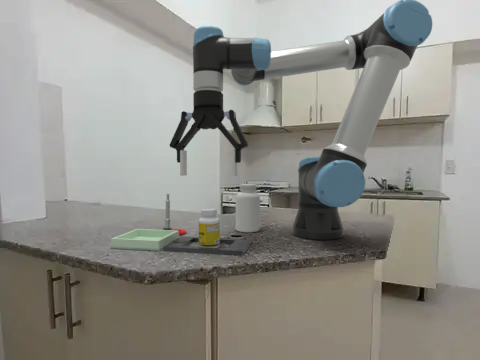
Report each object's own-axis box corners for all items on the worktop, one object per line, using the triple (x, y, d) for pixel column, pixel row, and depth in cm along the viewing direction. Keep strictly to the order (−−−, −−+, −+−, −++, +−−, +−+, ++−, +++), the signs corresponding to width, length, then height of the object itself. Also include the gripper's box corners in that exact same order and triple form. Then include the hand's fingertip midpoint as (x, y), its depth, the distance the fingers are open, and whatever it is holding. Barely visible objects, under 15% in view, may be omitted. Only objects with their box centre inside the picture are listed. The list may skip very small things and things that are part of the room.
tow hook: (164, 231, 104) (152, 236, 95) (165, 192, 104) (153, 193, 95) (189, 232, 103) (179, 238, 94) (190, 192, 103) (180, 193, 94)
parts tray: (179, 239, 91) (179, 230, 91) (158, 251, 79) (158, 241, 79) (137, 237, 94) (137, 228, 94) (111, 248, 81) (110, 238, 81)
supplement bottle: (197, 245, 85) (196, 208, 84) (217, 243, 86) (217, 207, 86) (200, 250, 79) (200, 211, 79) (222, 248, 81) (221, 210, 81)
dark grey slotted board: (251, 243, 87) (251, 239, 87) (242, 255, 75) (242, 250, 75) (181, 239, 91) (181, 236, 91) (163, 250, 79) (163, 246, 79)
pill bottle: (258, 233, 100) (259, 185, 99) (233, 232, 101) (233, 185, 100) (261, 228, 107) (261, 183, 107) (237, 227, 109) (237, 183, 108)
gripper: (259, 93, 82) (258, 175, 83) (168, 97, 87) (169, 174, 88) (254, 86, 75) (254, 176, 76) (156, 90, 80) (156, 175, 81)
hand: (208, 175), depth 82 cm, fingers open, 13 cm apart
